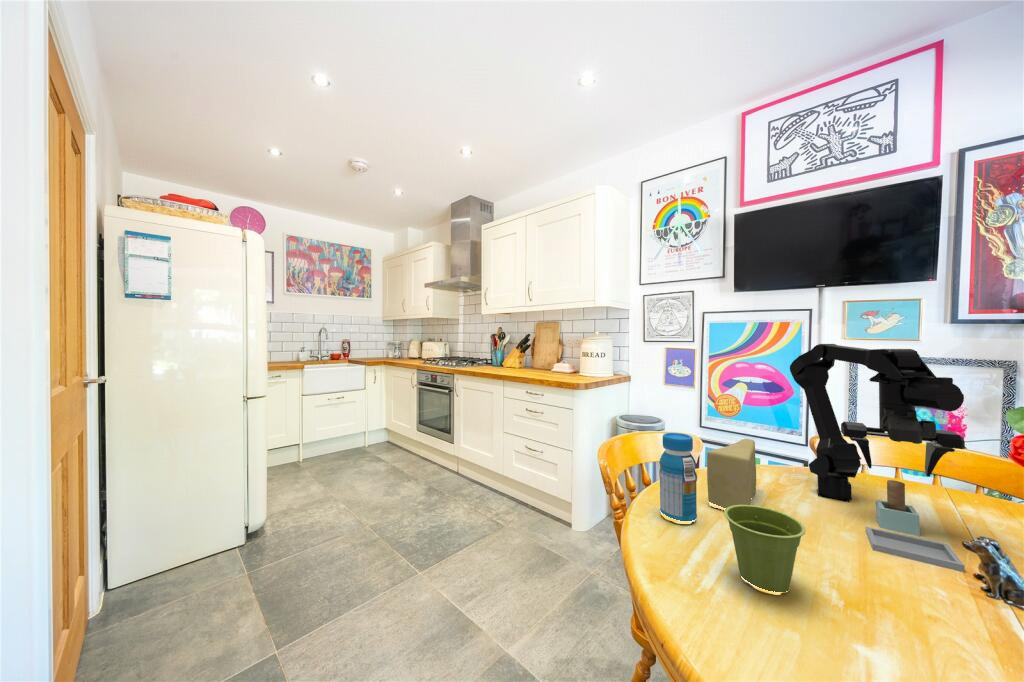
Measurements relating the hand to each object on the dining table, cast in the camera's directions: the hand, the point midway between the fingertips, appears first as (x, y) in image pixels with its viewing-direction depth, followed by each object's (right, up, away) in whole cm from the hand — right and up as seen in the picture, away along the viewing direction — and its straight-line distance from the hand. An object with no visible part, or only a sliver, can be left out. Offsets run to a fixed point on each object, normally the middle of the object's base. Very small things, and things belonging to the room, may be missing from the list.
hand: (897, 471), depth 83 cm
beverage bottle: (-48, -13, +6) cm, 50 cm away
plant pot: (-44, -13, -19) cm, 49 cm away
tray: (-8, -13, -10) cm, 18 cm away
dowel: (-1, -12, 0) cm, 12 cm away
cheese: (-26, -14, +16) cm, 33 cm away
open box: (0, -13, 0) cm, 13 cm away
